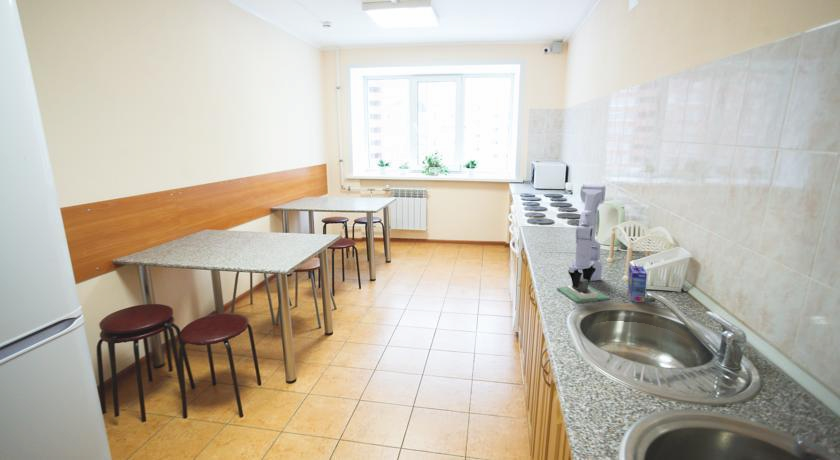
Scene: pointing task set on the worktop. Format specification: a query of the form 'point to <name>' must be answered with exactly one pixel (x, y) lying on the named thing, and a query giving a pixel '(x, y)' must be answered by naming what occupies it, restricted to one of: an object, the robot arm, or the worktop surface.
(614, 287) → the worktop surface
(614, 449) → the worktop surface
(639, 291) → the ink cartridge box
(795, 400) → the worktop surface
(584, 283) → the plug
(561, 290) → the header board
